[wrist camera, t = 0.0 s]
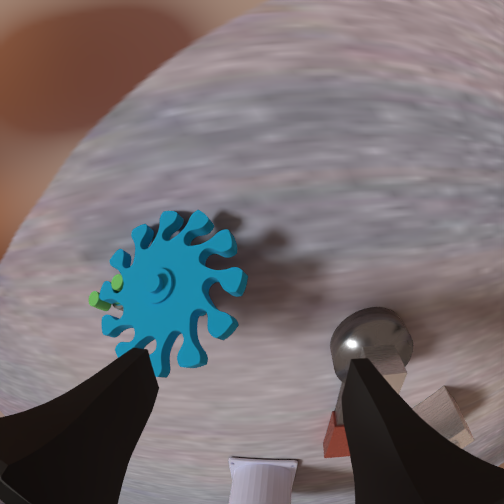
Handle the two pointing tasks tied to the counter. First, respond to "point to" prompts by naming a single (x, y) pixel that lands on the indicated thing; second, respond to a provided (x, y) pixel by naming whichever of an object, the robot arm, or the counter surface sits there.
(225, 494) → the counter surface
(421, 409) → the socket
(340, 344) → the ratchet
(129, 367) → the robot arm
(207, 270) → the gear
